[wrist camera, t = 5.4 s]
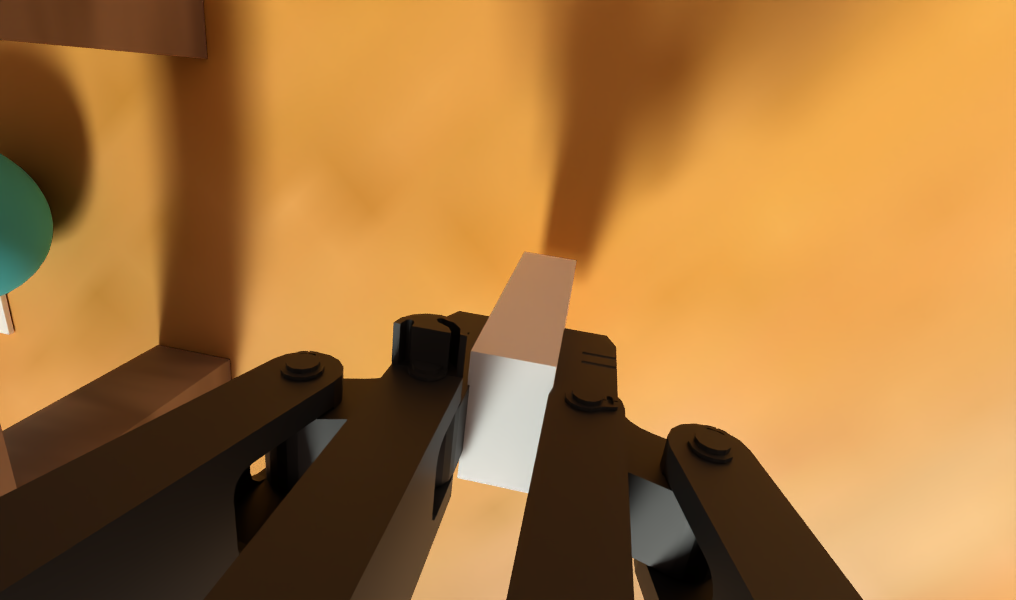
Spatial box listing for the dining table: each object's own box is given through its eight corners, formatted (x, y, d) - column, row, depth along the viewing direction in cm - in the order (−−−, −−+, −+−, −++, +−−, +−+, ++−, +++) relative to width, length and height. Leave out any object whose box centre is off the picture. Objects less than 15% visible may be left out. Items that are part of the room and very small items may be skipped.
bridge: (163, 389, 22) (-119, 576, 13) (111, -25, 17) (-412, -152, 8) (233, 404, 22) (-12, 605, 13) (202, -15, 16) (-244, -136, 8)
